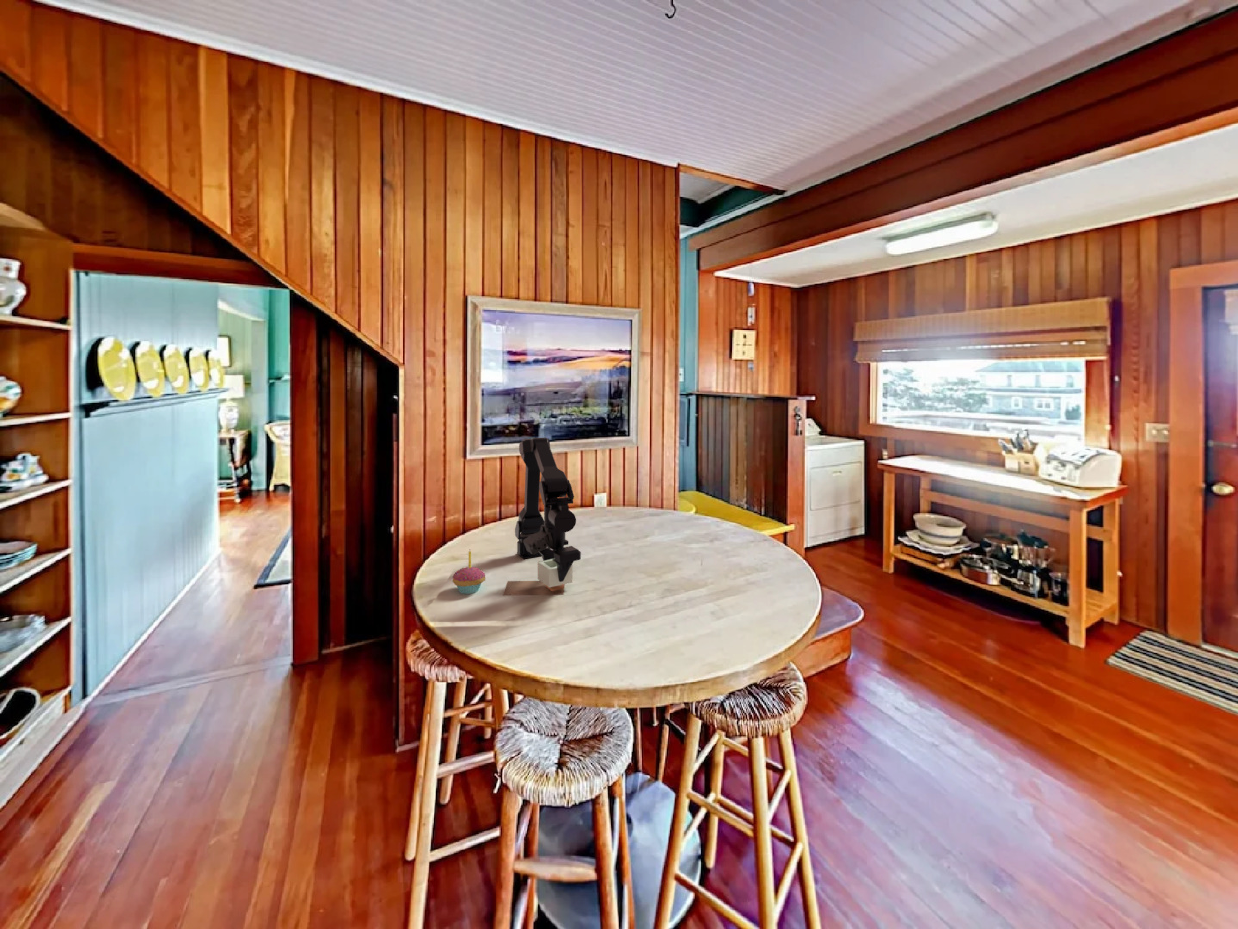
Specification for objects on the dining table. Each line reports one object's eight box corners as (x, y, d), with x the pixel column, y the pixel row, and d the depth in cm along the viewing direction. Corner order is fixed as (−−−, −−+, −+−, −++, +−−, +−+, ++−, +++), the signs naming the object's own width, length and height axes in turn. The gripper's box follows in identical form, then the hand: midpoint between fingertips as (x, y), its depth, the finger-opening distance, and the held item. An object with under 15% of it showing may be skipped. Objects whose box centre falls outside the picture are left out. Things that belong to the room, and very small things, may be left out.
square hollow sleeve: (560, 574, 159) (560, 557, 158) (572, 582, 153) (572, 564, 152) (537, 579, 155) (537, 561, 154) (549, 587, 149) (549, 569, 148)
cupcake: (456, 587, 156) (455, 546, 154) (488, 587, 156) (487, 545, 154) (450, 600, 147) (448, 556, 145) (483, 599, 148) (482, 555, 146)
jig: (565, 583, 159) (565, 563, 158) (563, 598, 150) (563, 576, 149) (507, 584, 158) (507, 564, 157) (502, 598, 148) (502, 577, 147)
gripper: (512, 518, 154) (513, 572, 157) (543, 535, 139) (543, 595, 142) (549, 512, 160) (549, 565, 163) (582, 528, 145) (581, 586, 148)
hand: (554, 577), depth 154 cm, fingers closed on square hollow sleeve, 7 cm apart
